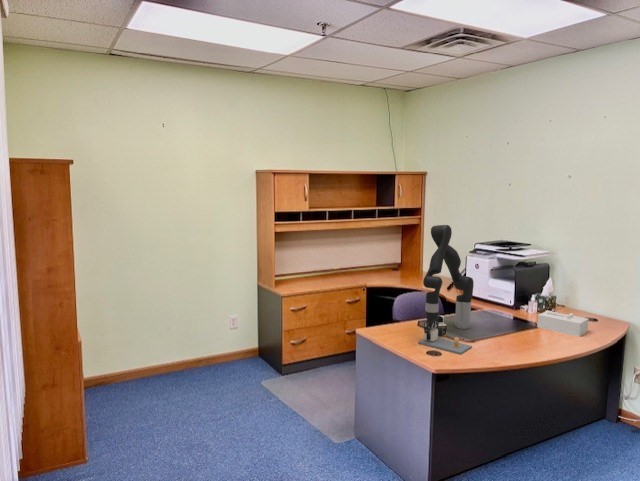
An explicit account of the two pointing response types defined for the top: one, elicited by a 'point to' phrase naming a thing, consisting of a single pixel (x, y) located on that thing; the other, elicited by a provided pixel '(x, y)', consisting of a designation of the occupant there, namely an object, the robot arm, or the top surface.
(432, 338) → the beige cube block
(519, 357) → the top surface
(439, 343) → the board
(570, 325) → the tissue box
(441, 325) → the medicine bottle
